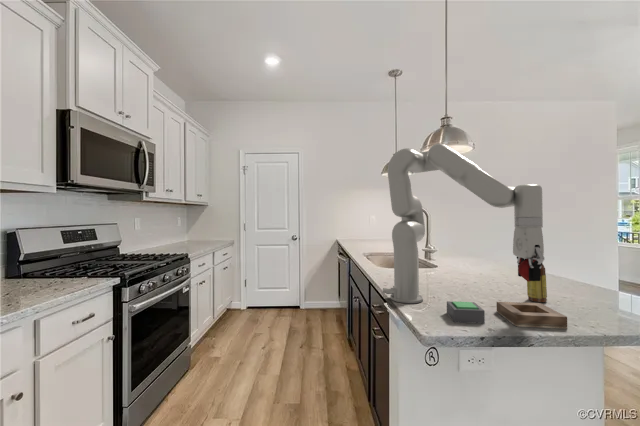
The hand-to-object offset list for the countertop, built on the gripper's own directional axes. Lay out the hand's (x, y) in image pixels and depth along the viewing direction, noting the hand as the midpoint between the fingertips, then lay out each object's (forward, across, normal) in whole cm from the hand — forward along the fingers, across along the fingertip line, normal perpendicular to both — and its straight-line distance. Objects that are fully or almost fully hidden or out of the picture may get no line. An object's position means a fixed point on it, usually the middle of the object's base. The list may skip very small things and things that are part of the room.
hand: (528, 278), depth 99 cm
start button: (+12, +1, -20) cm, 23 cm away
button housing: (+13, +1, -20) cm, 24 cm away
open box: (+13, 0, 0) cm, 13 cm away
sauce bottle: (+14, -23, +14) cm, 30 cm away
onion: (+1, 0, 0) cm, 1 cm away
